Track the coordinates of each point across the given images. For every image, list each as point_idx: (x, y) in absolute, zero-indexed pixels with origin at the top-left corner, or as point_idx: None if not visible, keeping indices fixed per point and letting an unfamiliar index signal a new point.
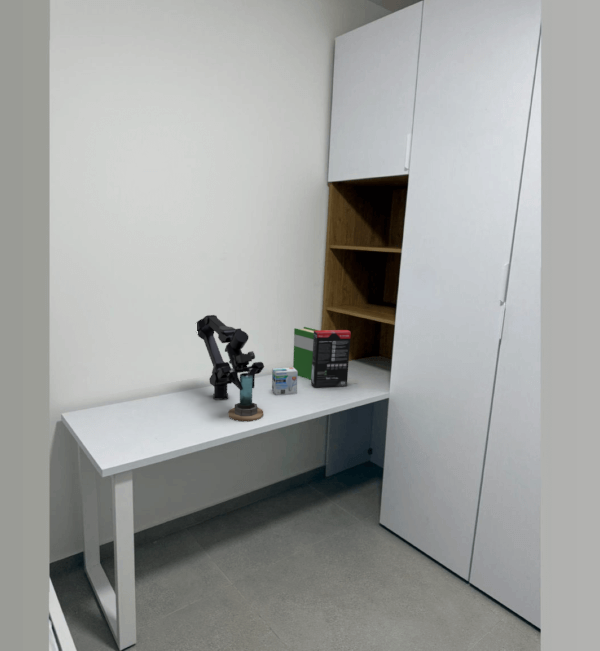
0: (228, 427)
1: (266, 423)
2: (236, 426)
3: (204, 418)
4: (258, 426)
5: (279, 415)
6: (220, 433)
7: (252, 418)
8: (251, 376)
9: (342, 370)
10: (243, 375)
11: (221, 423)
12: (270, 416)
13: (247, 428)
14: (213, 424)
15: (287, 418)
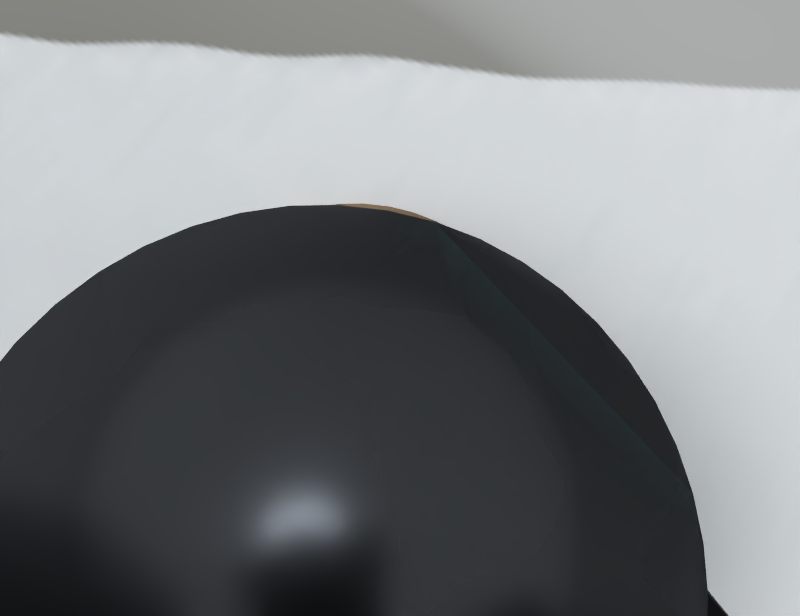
0: (670, 227)
1: (323, 86)
2: (598, 202)
3: (754, 566)
4: (430, 76)
5: (74, 168)
6: (792, 159)
7: (399, 212)
8: (208, 228)
9: None
10: (536, 586)
11: (677, 349)
12: (171, 204)
13: (540, 102)
14: (751, 374)
15: (64, 55)
